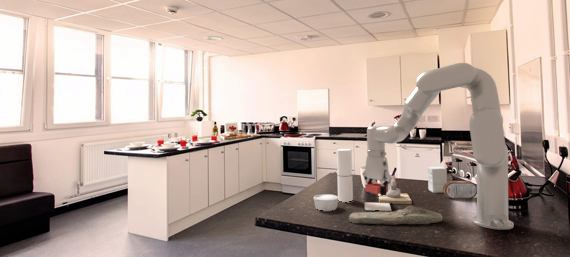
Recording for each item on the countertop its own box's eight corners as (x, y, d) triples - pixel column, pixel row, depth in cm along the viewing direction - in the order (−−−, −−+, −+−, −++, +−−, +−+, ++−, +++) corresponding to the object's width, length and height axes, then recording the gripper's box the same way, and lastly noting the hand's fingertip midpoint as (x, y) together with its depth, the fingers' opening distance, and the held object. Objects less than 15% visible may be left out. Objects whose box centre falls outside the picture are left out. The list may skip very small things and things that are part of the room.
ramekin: (320, 203, 149) (319, 193, 149) (342, 206, 143) (342, 195, 143) (309, 210, 139) (309, 198, 139) (333, 213, 134) (332, 201, 133)
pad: (391, 211, 134) (391, 210, 134) (365, 210, 136) (364, 209, 136) (389, 204, 145) (389, 203, 145) (364, 203, 147) (364, 202, 147)
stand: (411, 204, 143) (411, 184, 143) (379, 203, 146) (379, 184, 146) (407, 196, 157) (406, 178, 157) (378, 195, 160) (377, 178, 160)
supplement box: (442, 189, 169) (442, 166, 168) (447, 192, 161) (447, 168, 161) (428, 189, 170) (427, 166, 169) (432, 192, 162) (432, 168, 162)
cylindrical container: (337, 202, 150) (336, 150, 150) (338, 198, 157) (337, 149, 157) (352, 202, 149) (351, 150, 148) (353, 198, 156) (351, 148, 155)
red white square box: (388, 191, 139) (388, 185, 139) (377, 194, 136) (377, 187, 135) (376, 188, 145) (375, 182, 145) (365, 191, 141) (365, 184, 141)
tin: (475, 197, 151) (475, 180, 151) (478, 199, 148) (478, 181, 148) (442, 197, 153) (442, 180, 152) (445, 199, 150) (445, 181, 149)
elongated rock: (347, 220, 128) (351, 230, 118) (346, 208, 128) (349, 217, 118) (436, 215, 125) (447, 225, 115) (435, 202, 124) (446, 211, 115)
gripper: (397, 154, 134) (398, 195, 135) (367, 151, 149) (368, 188, 150) (385, 156, 130) (386, 198, 131) (355, 153, 145) (356, 191, 146)
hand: (376, 193), depth 140 cm, fingers closed on red white square box, 7 cm apart
